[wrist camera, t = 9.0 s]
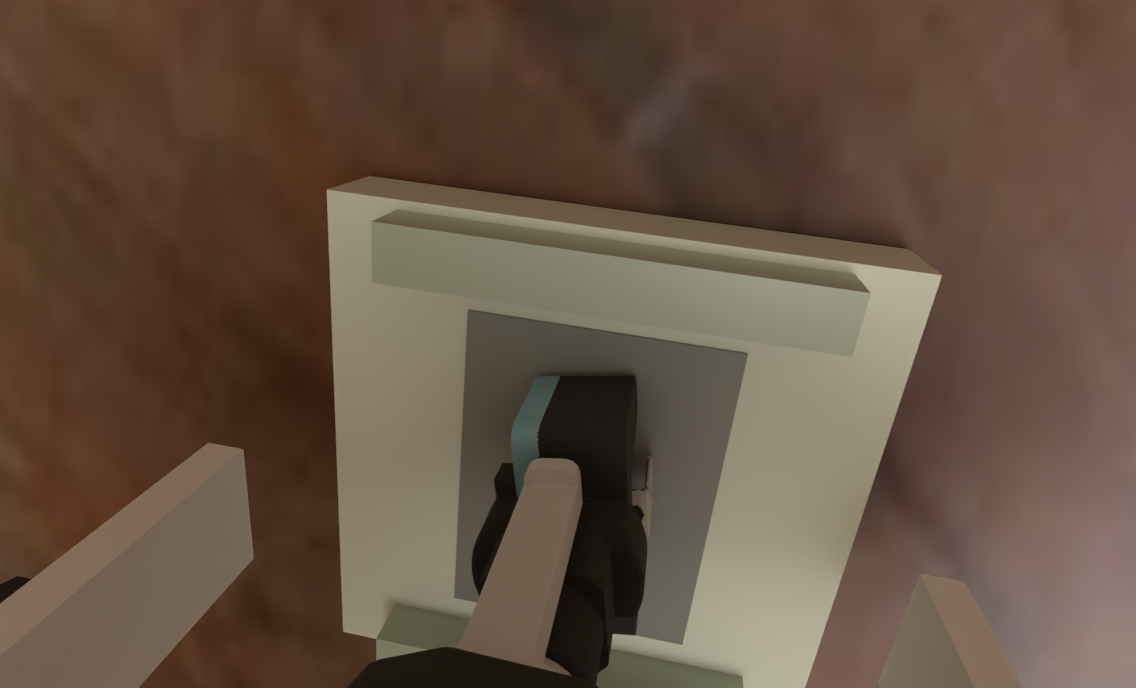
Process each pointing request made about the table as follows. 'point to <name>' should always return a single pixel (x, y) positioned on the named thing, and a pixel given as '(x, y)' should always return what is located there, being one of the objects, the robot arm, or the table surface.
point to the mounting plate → (664, 419)
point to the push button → (550, 549)
